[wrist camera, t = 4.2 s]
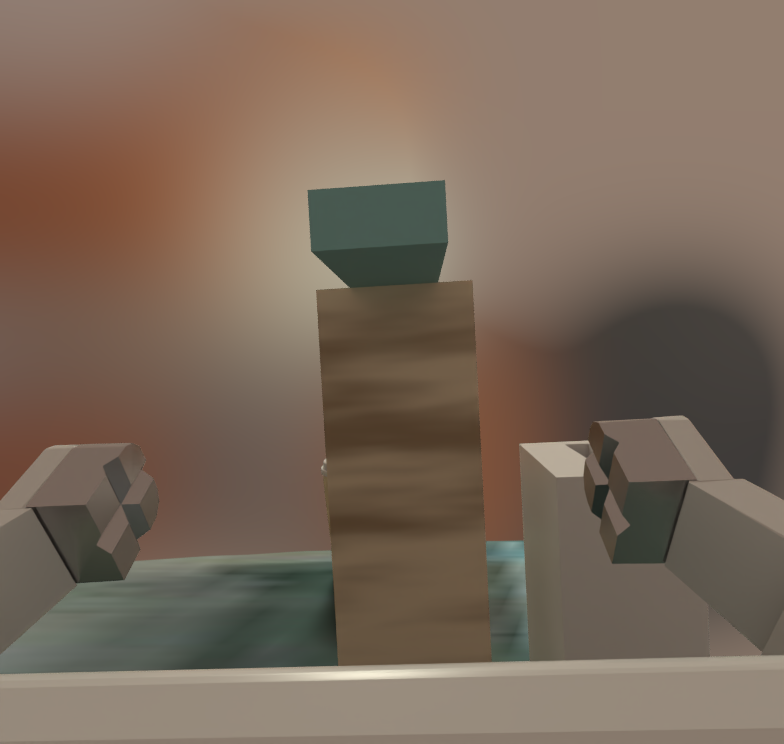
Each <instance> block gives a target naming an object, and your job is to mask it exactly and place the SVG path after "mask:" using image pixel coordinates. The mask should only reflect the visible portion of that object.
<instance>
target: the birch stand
mask: <svg viewBox="0 0 784 744" xmlns="http://www.w3.org/2000/svg"><path fill="white" fill-rule="evenodd" d="M316 293H317V312H318V329H319V346H320V363H321V379H322V396H323V413H324V430H325V447H326V464H327V481H328V498H329V515H330V532H331V549H332V566H333V583H334V599H335V616H336V633H337V650H338V666H362V665H402V664H441V663H482V662H492V659H491V639H490V619H489V600H488V580H487V560H486V540H485V521H484V500H483V481H482V462H481V443H480V421H479V402H478V382H477V362H476V342H475V322H474V302H473V283H472V281H471V280H470V281H453V282H437V283H421V284H405V285H389V286H373V287H357V288H341V289H325V290H316Z"/></svg>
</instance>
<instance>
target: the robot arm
mask: <svg viewBox="0 0 784 744" xmlns="http://www.w3.org/2000/svg"><path fill="white" fill-rule="evenodd" d="M588 441H589V444H590V446H591V448H592V450H593V452H592V453H591V454H590V455H589V456H588V457H587V458H586V459H585V465H584V474H583V476H584V490H585V494H586V498H587V502H588V505H589V507H590V510H591V512H592V513H593V514H594V515H596V516H597V517H599V518H600V519H601V525H600V530H599V533H600V535H601V538H602V540H603V543H604V545H605V548H606V550H607V553H608V555H609V558H610V560H611V563H612V564H654V563H665V567H666V568H667V569H669V570H670V571H671V572H672V573H673V574H674V575H675V576H677V577H678V578H679V579H680V580H681V581H682V582H683V583H685V584H686V585H687V586H688V587H689V588H690V589H691V590H692V591H694V592H695V593H696V594H697V595H698V596H699V597H700V598H702V599H703V600H704V601H705V602H706V603H707V604H708V605H710V606H711V607H712V608H713V609H714V610H715V611H716V612H717V613H719V614H720V615H721V616H722V617H723V618H724V619H726V620H727V621H728V622H729V623H730V624H731V625H732V626H733V627H735V628H736V629H737V630H738V631H739V632H740V633H741V634H743V635H744V636H745V637H746V638H747V639H748V640H749V641H751V642H752V643H753V644H754V645H755V646H756V647H757V648H758V649H759V650H761V651H762V654H761V656H729V657H728V656H727V657H684V658H644V659H603V660H563V661H522V662H482V663H441V664H402V665H362V666H322V667H283V668H243V669H202V670H159V671H117V672H75V673H35V674H0V744H784V500H782V499H780V498H779V497H777V496H775V495H773V494H771V493H769V492H767V491H765V490H763V489H762V488H760V487H758V486H756V485H754V484H752V483H750V482H748V481H746V480H745V479H733V477H732V476H731V475H730V473H729V472H728V471H727V470H726V468H725V467H724V466H723V464H722V463H721V462H720V460H719V459H718V458H717V456H716V455H715V454H714V452H713V451H712V450H711V448H710V447H709V446H708V444H707V443H706V442H705V441H704V439H703V438H702V436H701V435H700V434H699V433H698V431H697V430H696V428H695V427H694V426H693V424H692V423H691V422H690V420H689V419H688V418H686V417H684V416H669V417H655V418H652V419H635V420H617V421H597V422H593V423H592V425H591V428H590V431H589V437H588ZM145 461H146V459H145V457H144V455H143V453H142V451H141V448H140V446H138V445H135V444H133V443H114V444H81V445H55V446H52V447H50V448H47V449H45V450H44V451H43V452H42V454H41V455H40V456H39V457H38V458H37V459H36V461H35V462H34V463H33V464H32V465H31V466H30V468H29V469H28V470H27V471H26V472H25V473H24V474H23V475H22V477H21V478H20V479H19V480H18V481H17V482H16V483H15V485H14V486H13V487H12V488H11V489H10V490H9V492H8V493H7V494H6V495H5V496H4V497H3V498H2V500H1V501H0V654H1V653H2V652H3V651H5V650H6V649H7V648H8V647H9V646H10V645H11V644H12V643H13V642H15V641H16V640H17V639H18V638H19V637H20V636H21V635H22V634H23V633H25V632H26V631H27V630H28V629H29V628H30V627H31V626H32V625H34V624H35V623H36V622H37V621H38V620H39V619H40V618H41V617H42V616H44V615H45V614H46V613H47V612H48V611H49V610H50V609H51V608H52V607H54V606H55V605H56V604H57V603H58V602H59V601H60V600H61V599H62V598H64V597H65V596H66V595H67V594H68V593H69V592H70V591H71V590H72V589H74V588H75V587H76V586H77V585H76V583H87V582H103V581H119V580H125V578H126V576H127V574H128V572H129V570H130V568H131V566H132V564H133V562H134V560H135V558H136V557H137V554H138V553H139V551H140V547H139V544H138V541H137V539H138V538H139V537H141V536H142V535H144V534H145V533H146V532H147V531H149V530H150V529H151V527H152V525H153V523H154V521H155V519H156V516H157V510H158V503H159V498H158V490H157V487H156V484H155V481H154V479H153V478H152V477H151V476H149V475H148V474H147V473H145V472H144V471H143V470H142V468H143V466H144V463H145Z"/></svg>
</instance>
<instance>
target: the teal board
mask: <svg viewBox="0 0 784 744" xmlns="http://www.w3.org/2000/svg"><path fill="white" fill-rule="evenodd" d="M308 204H309V221H310V238H311V251H312V252H313V253H314V254H315V255H316V256H317V257H318V258H319V259H320V260H321V261H322V262H323V263H324V264H325V265H326V266H327V267H329V269H331V270H332V271H333V272H334V273H335V274H336V275H337V276H338V277H339V278H340V279H341V280H342V281H343V282H344V283H345V284H346V285H347V286H349V287H350V288H357V287H373V286H389V285H405V284H421V283H437V282H438V280H439V276H440V272H441V268H442V264H443V260H444V256H445V252H446V248H447V244H448V232H447V213H446V193H445V180H443V181H429V182H415V183H401V184H387V185H373V186H359V187H346V188H331V189H317V190H308Z"/></svg>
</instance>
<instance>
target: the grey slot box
mask: <svg viewBox="0 0 784 744" xmlns="http://www.w3.org/2000/svg"><path fill="white" fill-rule="evenodd" d="M519 447H520V467H521V489H522V510H523V530H524V551H525V572H526V593H527V614H528V634H529V655H530V661H563V660H603V659H644V658H684V657H710V646H709V645H710V644H709V618H708V604H707V603H706V602H705V601H704V600H703V599H702V598H700V597H699V596H698V595H697V594H696V593H695V592H694V591H692V590H691V589H690V588H689V587H688V586H687V585H686V584H685V583H683V582H682V581H681V580H680V579H679V578H678V577H677V576H675V575H674V574H673V573H672V572H671V571H670V570H669V569H667V568H666V567H665V563H654V564H612V563H611V560H610V558H609V555H608V553H607V550H606V548H605V545H604V543H603V540H602V538H601V535H600V533H599V530H600V525H601V519H600V518H599V517H597V516H596V515H594V514H593V513H592V512H591V510H590V507H589V505H588V502H587V498H586V494H585V490H584V476H583V474H584V465H585V459H586V458H587V457H588V456H589V455H590V454H591V453H592V452H593V450H592V448H591V446H590V444H589V441H572V442H551V443H529V444H519Z"/></svg>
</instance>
